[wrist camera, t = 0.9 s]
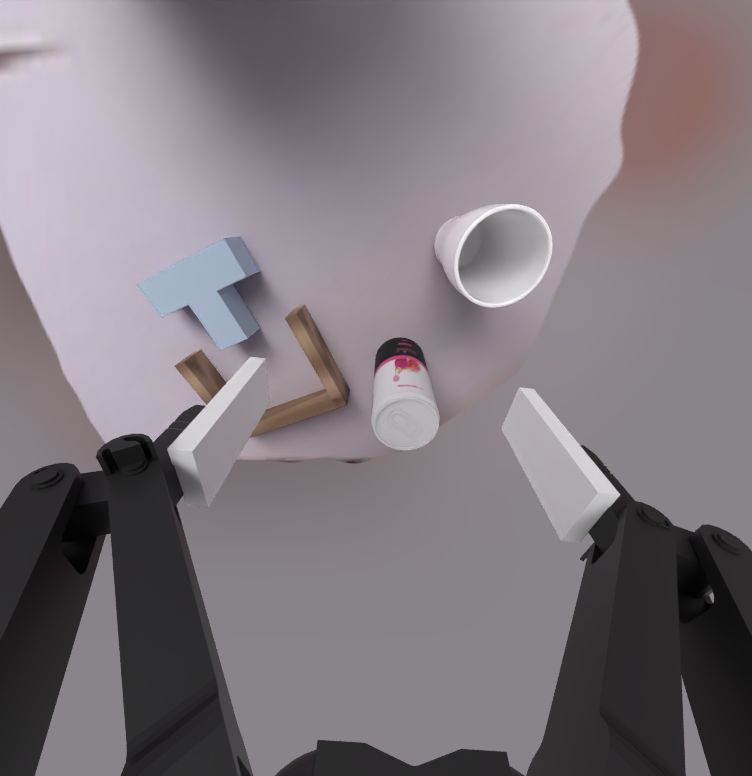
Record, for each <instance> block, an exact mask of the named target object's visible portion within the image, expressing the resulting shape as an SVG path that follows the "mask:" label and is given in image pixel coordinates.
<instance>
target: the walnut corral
mask: <svg viewBox="0 0 752 776" xmlns="http://www.w3.org/2000/svg"><path fill="white" fill-rule="evenodd" d="M285 319H286V321H287V323H288V324H289V326H290V328H291V330H292V331H293V333H294V335H295V337H296V338H297V340H298V342H299V343H300V345H301V347H302V349H303V350H304V352H305V354H306V356H307V357H308V359H309V361H310V363H311V364H312V366H313V368H314V370H315V371H316V373H317V375H318V376H319V378H320V380H321V382H322V383H323V385H324V387H325V389H323V390H321V391H318V392H315V393H312V394H309V395H307V396H304V397H301V398H298V399H295V400H293V401H290V402H287V403H284V404H282V405H279V406H276V407H273V408H270V409H268V410H265V412H264V414H263V415H262V417H261V419H260V421H259V422H258V424H257V426H256V427H255V429H254V431H253V433H252V434H251V436H250V438H251V437H254V436H256V435H259V434H262V433H265V432H268V431H271V430H274V429H277V428H280V427H283V426H286V425H289V424H292V423H295V422H298V421H301V420H304V419H307V418H310V417H313V416H316V415H319V414H321V413H324V412H327V411H330V410H333V409H336V408H339V407H342V406H345V405H347V401H348V396H349V391H350V389H349V387H348V386H347V384H346V382H345V380H344V378H343V376H342V374H341V372H340V370H339V369H338V367H337V365H336V363H335V361H334V359H333V357H332V355H331V353H330V352H329V350H328V348H327V346H326V344H325V342H324V340H323V338H322V337H321V335H320V333H319V331H318V329H317V327H316V325H315V323H314V321H313V320H312V318H311V316H310V314H309V312H308V310H307V308H306V306H305V305H302V306H300V307H298V308H295V309H294V310H293V311H292V312H291V313H290V314H289V315H288V316H287V317H286V318H285ZM175 367H176V368H177V370H178V371H179V372H180V373H181V374H182V376H183V377H184V378H185V379H186V380H187V382H188V383H189V384H190V385H191V386H192V388H193V389H194V390H195V391H196V392H197V394H198V395H199V396H200V397H201V398H202V400H203V401H204V402H205V403H206V404H208V403H209V402H210V401H211V400H212V399H213V398H214V396H215V395H216V394H217V393H218V392H219V391H220V390H221V389H222V388H223V387H224V385H225V384H226V382H225V381H224V380H223V378H222V377H221V376H220V374H219V373H218V372H217V370H216V369H215V368H214V366H213V365H212V364H211V362H210V361H209V360H208V359H207V357H206V356H205V355H204V353H203V352H202V351H201V350H199V351H197V352H194V353H192V354H191V355H189V356H188V357H186V358H185V359H184V360H182V361H181V362H179V363H178V364H177V365H175Z"/></svg>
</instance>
